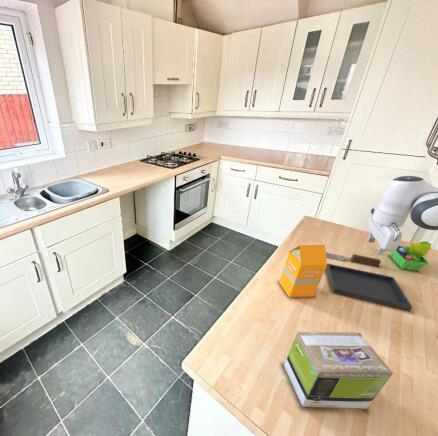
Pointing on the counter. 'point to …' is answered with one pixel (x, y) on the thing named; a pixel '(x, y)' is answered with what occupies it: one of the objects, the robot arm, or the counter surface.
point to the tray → (367, 286)
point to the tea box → (335, 370)
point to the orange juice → (303, 270)
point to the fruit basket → (411, 255)
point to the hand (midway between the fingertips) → (374, 247)
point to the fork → (357, 259)
